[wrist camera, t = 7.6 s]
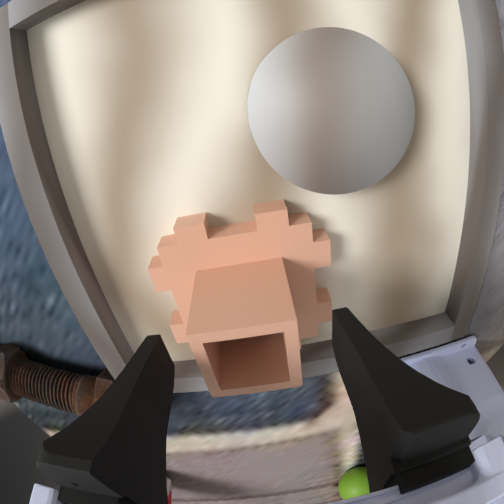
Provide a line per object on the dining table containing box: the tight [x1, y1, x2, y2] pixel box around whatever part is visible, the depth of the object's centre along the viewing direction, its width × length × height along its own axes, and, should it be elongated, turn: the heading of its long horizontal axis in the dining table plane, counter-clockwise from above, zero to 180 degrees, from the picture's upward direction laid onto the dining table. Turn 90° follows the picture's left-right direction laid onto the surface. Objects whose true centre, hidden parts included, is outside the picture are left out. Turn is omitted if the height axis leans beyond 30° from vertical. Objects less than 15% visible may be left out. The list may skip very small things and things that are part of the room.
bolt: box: [0, 344, 115, 416], centre depth 19 cm, size 6×5×15 cm
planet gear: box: [148, 200, 332, 397], centre depth 15 cm, size 9×9×6 cm
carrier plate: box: [0, 0, 504, 393], centre depth 13 cm, size 24×24×4 cm
